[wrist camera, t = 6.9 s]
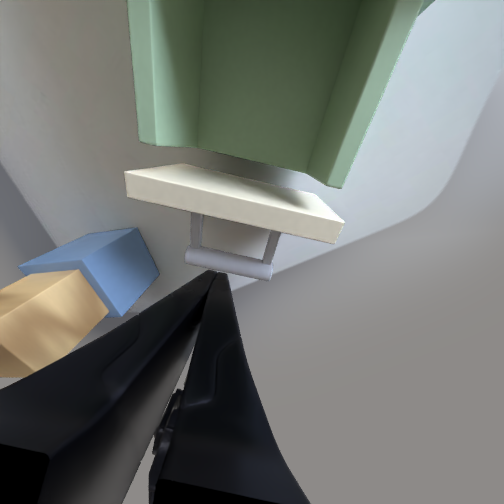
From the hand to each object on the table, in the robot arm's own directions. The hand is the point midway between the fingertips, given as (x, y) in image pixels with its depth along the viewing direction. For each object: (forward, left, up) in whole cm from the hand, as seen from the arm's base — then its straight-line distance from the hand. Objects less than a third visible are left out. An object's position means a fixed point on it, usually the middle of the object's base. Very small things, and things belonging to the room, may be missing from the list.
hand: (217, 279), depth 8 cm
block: (+9, +10, -3) cm, 14 cm away
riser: (+9, +10, -9) cm, 16 cm away
